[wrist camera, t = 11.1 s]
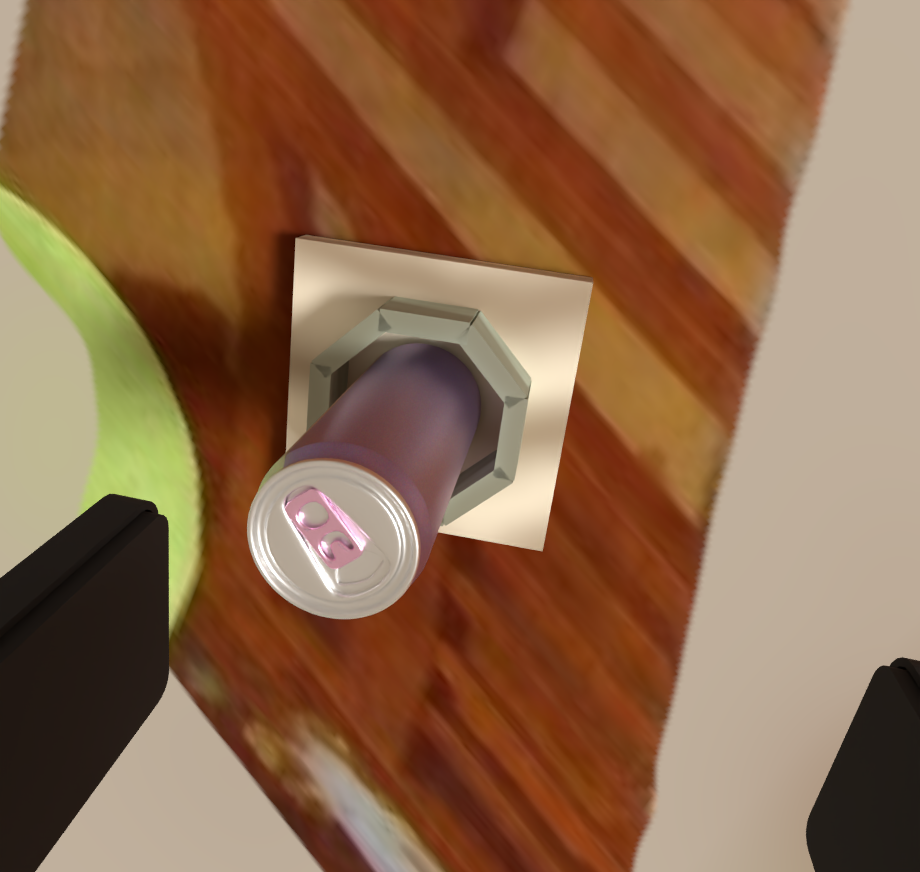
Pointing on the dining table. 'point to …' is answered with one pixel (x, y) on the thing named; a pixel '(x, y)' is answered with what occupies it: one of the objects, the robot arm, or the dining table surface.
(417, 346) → the beverage can
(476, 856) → the dining table surface
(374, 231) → the dining table surface
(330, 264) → the can holder
